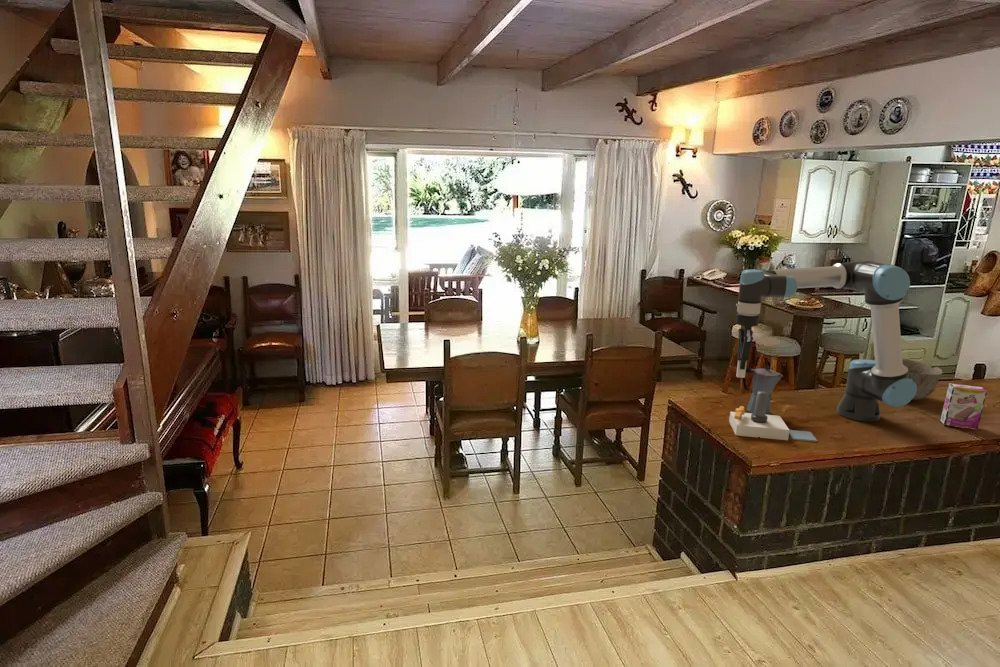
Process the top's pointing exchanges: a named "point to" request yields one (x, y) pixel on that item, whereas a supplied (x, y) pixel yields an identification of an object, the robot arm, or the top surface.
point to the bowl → (922, 377)
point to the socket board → (759, 427)
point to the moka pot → (761, 386)
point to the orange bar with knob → (739, 412)
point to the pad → (802, 435)
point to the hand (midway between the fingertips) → (740, 376)
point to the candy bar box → (963, 405)
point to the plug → (760, 408)
